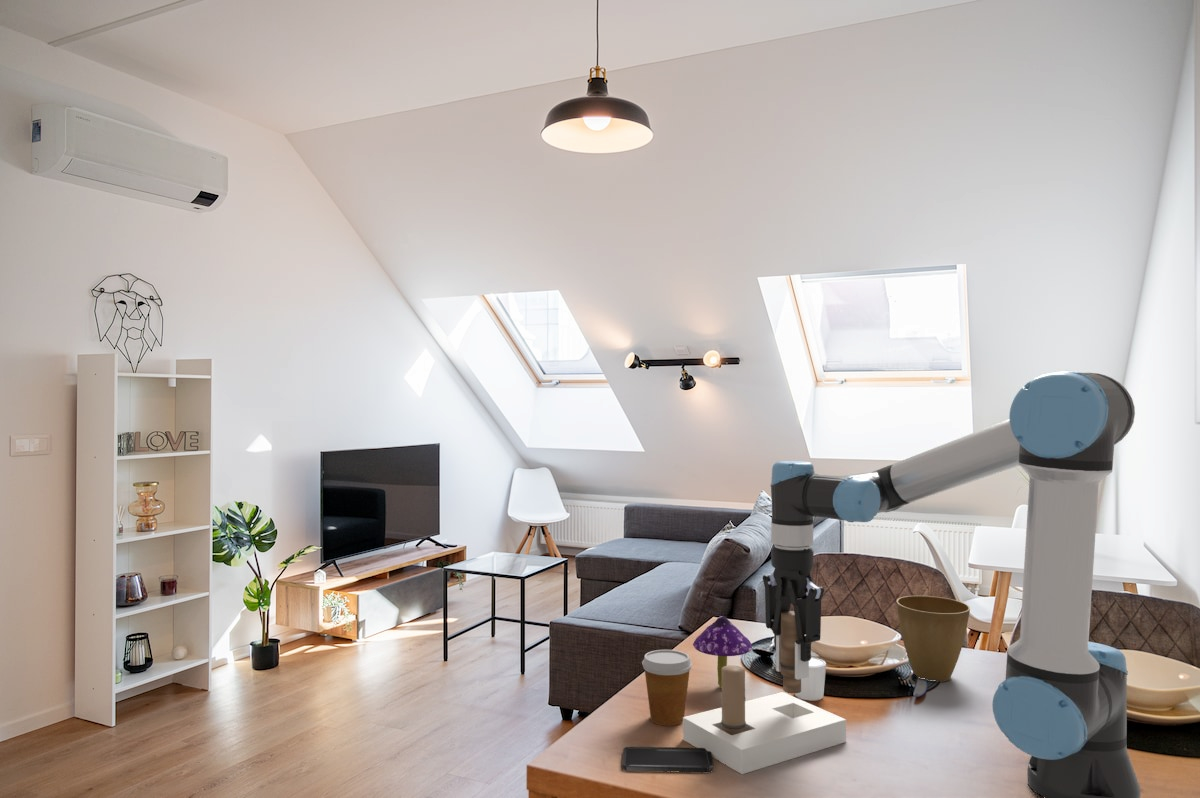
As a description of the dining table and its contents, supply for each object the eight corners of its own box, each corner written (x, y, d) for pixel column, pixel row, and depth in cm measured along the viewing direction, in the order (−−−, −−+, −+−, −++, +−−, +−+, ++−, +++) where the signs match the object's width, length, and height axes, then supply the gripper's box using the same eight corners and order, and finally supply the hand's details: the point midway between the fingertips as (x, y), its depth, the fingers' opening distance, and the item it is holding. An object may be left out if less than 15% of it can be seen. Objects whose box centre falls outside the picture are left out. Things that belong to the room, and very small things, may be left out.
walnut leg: (808, 691, 151) (808, 614, 151) (791, 696, 149) (791, 618, 148) (792, 684, 154) (792, 609, 154) (775, 688, 152) (775, 612, 152)
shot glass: (827, 702, 166) (827, 667, 166) (792, 700, 167) (792, 665, 167) (825, 690, 173) (825, 657, 173) (791, 688, 174) (791, 655, 174)
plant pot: (898, 684, 176) (898, 609, 176) (895, 663, 190) (894, 593, 190) (975, 691, 171) (974, 614, 171) (965, 669, 186) (965, 597, 185)
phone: (713, 768, 135) (621, 766, 136) (713, 775, 135) (622, 772, 136) (710, 747, 143) (623, 745, 144) (710, 754, 143) (623, 752, 144)
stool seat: (846, 741, 147) (845, 663, 147) (741, 774, 135) (741, 688, 135) (782, 712, 161) (782, 640, 161) (682, 739, 149) (682, 661, 148)
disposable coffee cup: (634, 723, 156) (633, 660, 156) (654, 706, 164) (654, 646, 164) (681, 733, 151) (680, 667, 151) (699, 715, 160) (699, 653, 160)
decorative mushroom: (750, 678, 180) (750, 609, 180) (755, 699, 168) (754, 625, 168) (692, 676, 182) (692, 607, 182) (693, 697, 169) (692, 623, 169)
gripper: (842, 551, 146) (842, 684, 146) (775, 537, 161) (775, 657, 161) (811, 556, 142) (811, 692, 142) (745, 540, 157) (745, 664, 157)
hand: (792, 673), depth 151 cm, fingers closed on walnut leg, 4 cm apart
